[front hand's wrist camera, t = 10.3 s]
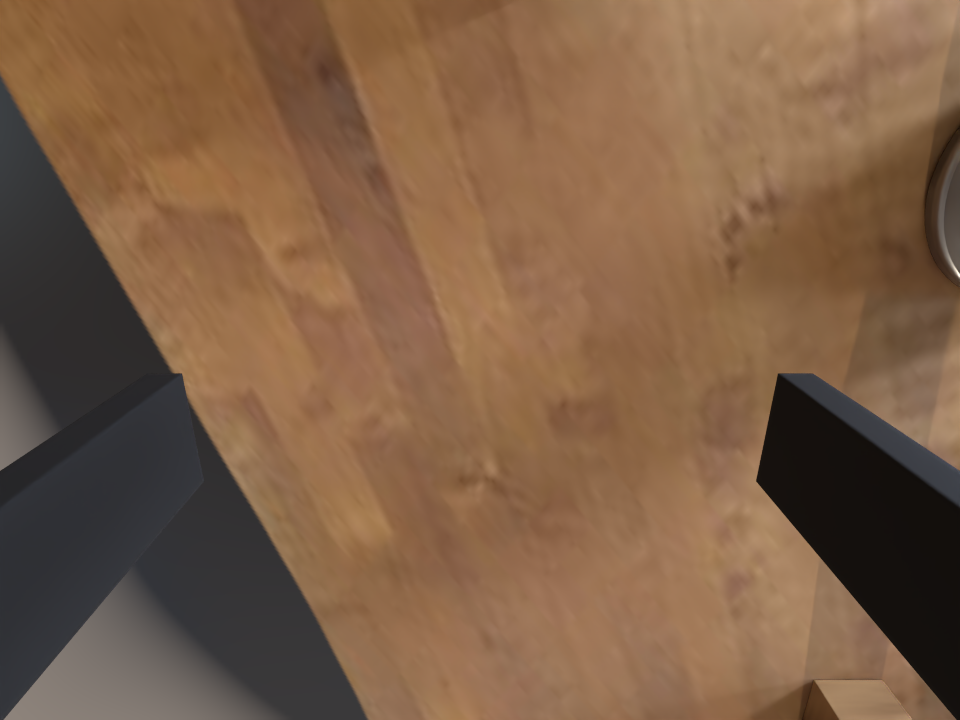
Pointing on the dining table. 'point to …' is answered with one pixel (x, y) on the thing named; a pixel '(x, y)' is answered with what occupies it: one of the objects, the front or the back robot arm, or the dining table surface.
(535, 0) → the dining table surface
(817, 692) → the block
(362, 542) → the dining table surface
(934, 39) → the dining table surface
